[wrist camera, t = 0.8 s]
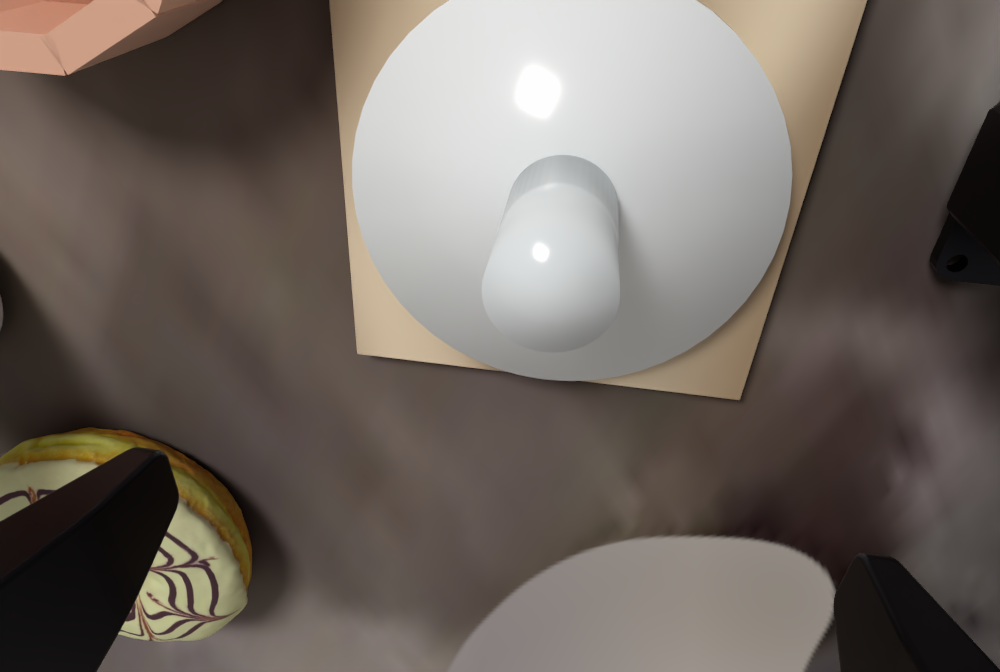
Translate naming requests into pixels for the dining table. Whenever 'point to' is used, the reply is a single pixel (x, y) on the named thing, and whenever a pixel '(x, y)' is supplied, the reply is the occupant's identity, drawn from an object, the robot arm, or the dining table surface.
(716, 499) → the dining table surface
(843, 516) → the dining table surface
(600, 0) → the lid
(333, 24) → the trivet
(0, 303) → the beverage can
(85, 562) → the robot arm
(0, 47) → the bowl
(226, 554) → the decorated donut
